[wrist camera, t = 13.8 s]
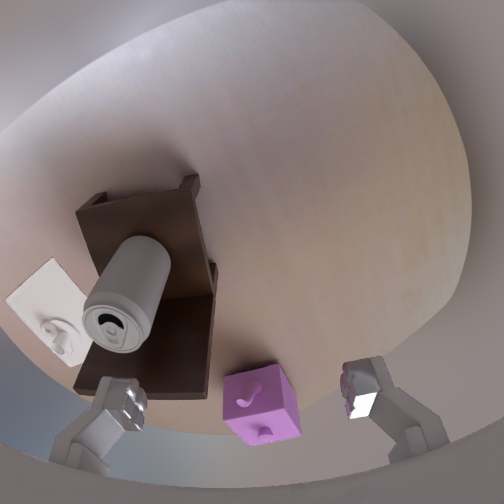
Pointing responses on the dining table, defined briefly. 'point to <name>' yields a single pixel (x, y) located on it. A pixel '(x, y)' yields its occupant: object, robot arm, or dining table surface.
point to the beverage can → (127, 295)
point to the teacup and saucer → (54, 312)
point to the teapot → (261, 406)
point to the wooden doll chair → (173, 297)
